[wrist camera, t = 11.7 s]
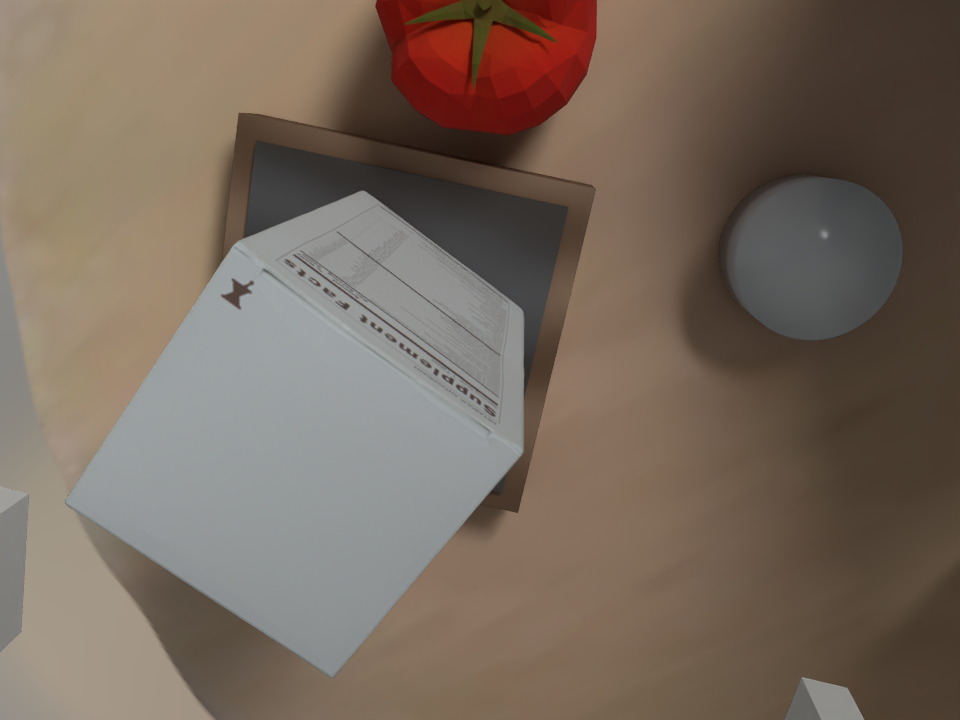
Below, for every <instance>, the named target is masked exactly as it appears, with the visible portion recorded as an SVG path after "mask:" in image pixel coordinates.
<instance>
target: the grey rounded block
mask: <svg viewBox="0 0 960 720" xmlns="http://www.w3.org/2000/svg"><path fill="white" fill-rule="evenodd" d="M902 259H903V244H902V237H901V233H900V229H899V226H898V224H897V221H896V219H895V217H894V215H893V214H892V212H891V211H890V209H889V208H888V206H887V205H886V204H885V203H884V202H883V201H882V200H881V199H880V198H879V197H878V196H877V195H875V194H874V193H873V192H871V191H870V190H868V189H866V188H865V187H862V186H860V185H858V184H856V183H852V182H849V181H845V180H839V179H832V178H826V177H820V176H813V175H791V176H785V177H781V178H777V179H775V180H772V181H770V182H767V183H765V184H764V185H762V186H760V187H758V188H757V189H755V190H754V191H752V192H751V193H750V194H749V195H747V196H746V197H745V198H744V199H743V200H742V201H741V202H740V203H739V204H738V206H737V207H736V208H735V209H734V211H733V212H732V214H731V215H730V217H729V219H728V221H727V223H726V225H725V227H724V230H723V233H722V235H721V240H720V245H719V267H720V272H721V276H722V278H723V281H724V284H725V286H726V288H727V290H728V291H729V293H730V294H731V296H732V297H733V298H734V299H735V301H736V302H737V303H738V304H739V305H740V306H742V307H743V308H744V309H745V310H746V311H748V312H749V313H750V314H751V315H752V316H754V317H755V318H756V319H757V320H758V321H760V322H761V323H762V324H763V325H765V326H766V327H767V328H769V329H771V330H772V331H774V332H776V333H778V334H781V335H783V336H786V337H790V338H793V339H800V340H823V339H828V338H833V337H837V336H840V335H842V334H845V333H847V332H849V331H851V330H853V329H856V328H857V327H859V326H860V325H862V324H863V323H865V322H866V321H867V320H869V319H870V318H871V317H872V316H873V315H875V314H876V312H877V311H878V310H879V309H880V308H881V307H882V306H883V305H884V303H885V302H886V301H887V299H888V298H889V296H890V295H891V293H892V291H893V289H894V287H895V285H896V283H897V280H898V278H899V274H900V270H901V266H902Z"/></svg>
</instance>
